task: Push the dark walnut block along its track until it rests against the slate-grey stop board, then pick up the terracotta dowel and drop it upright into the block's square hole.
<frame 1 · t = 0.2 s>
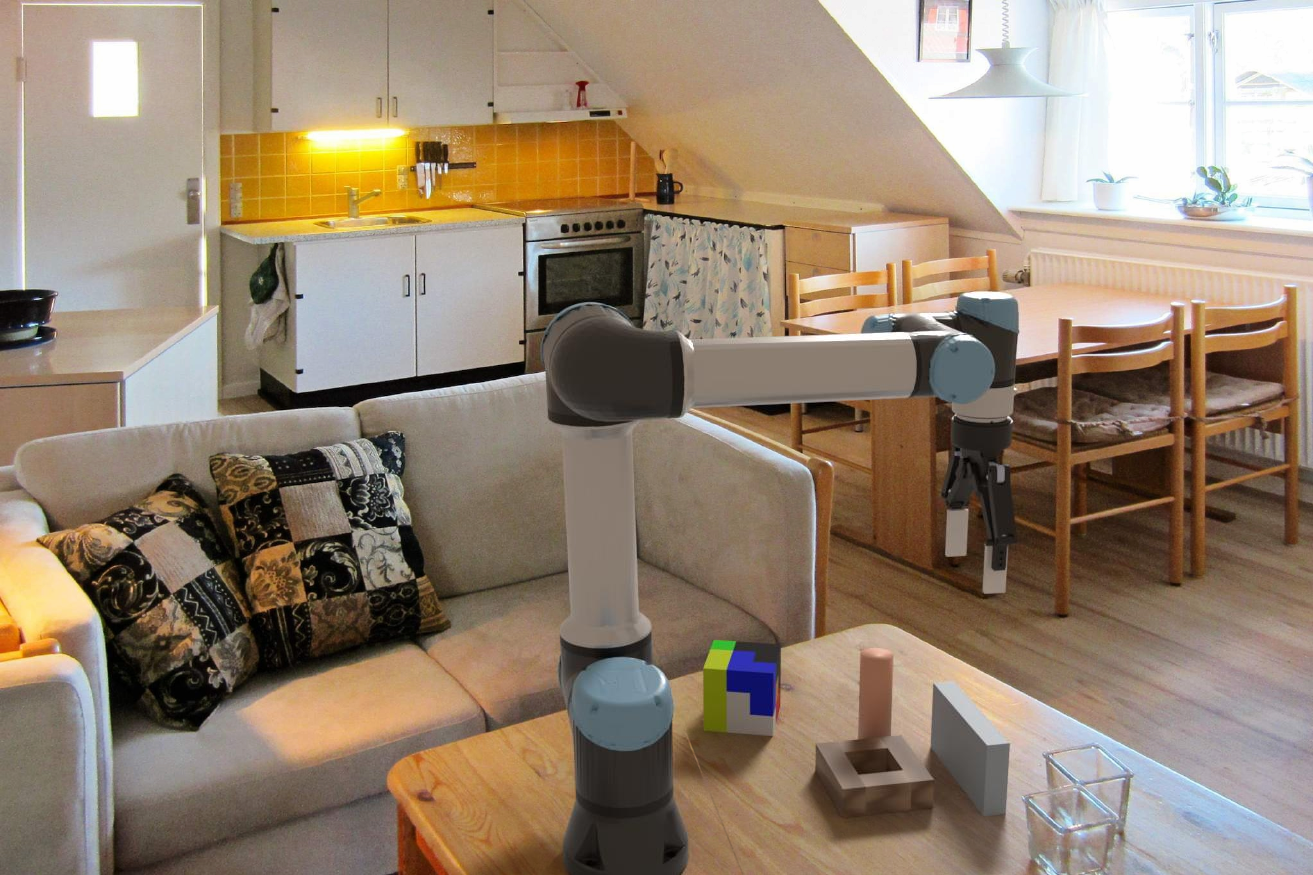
hand: (974, 573, 168), 28 cm above the table, tool pointing down, fingers open, 13 cm apart
stop board: (966, 779, 171), on the table
puzzle toy: (742, 720, 189), on the table
dowel: (874, 746, 180), on the table
block: (872, 774, 168), point 2 cm above the table, slide at 0.0 cm
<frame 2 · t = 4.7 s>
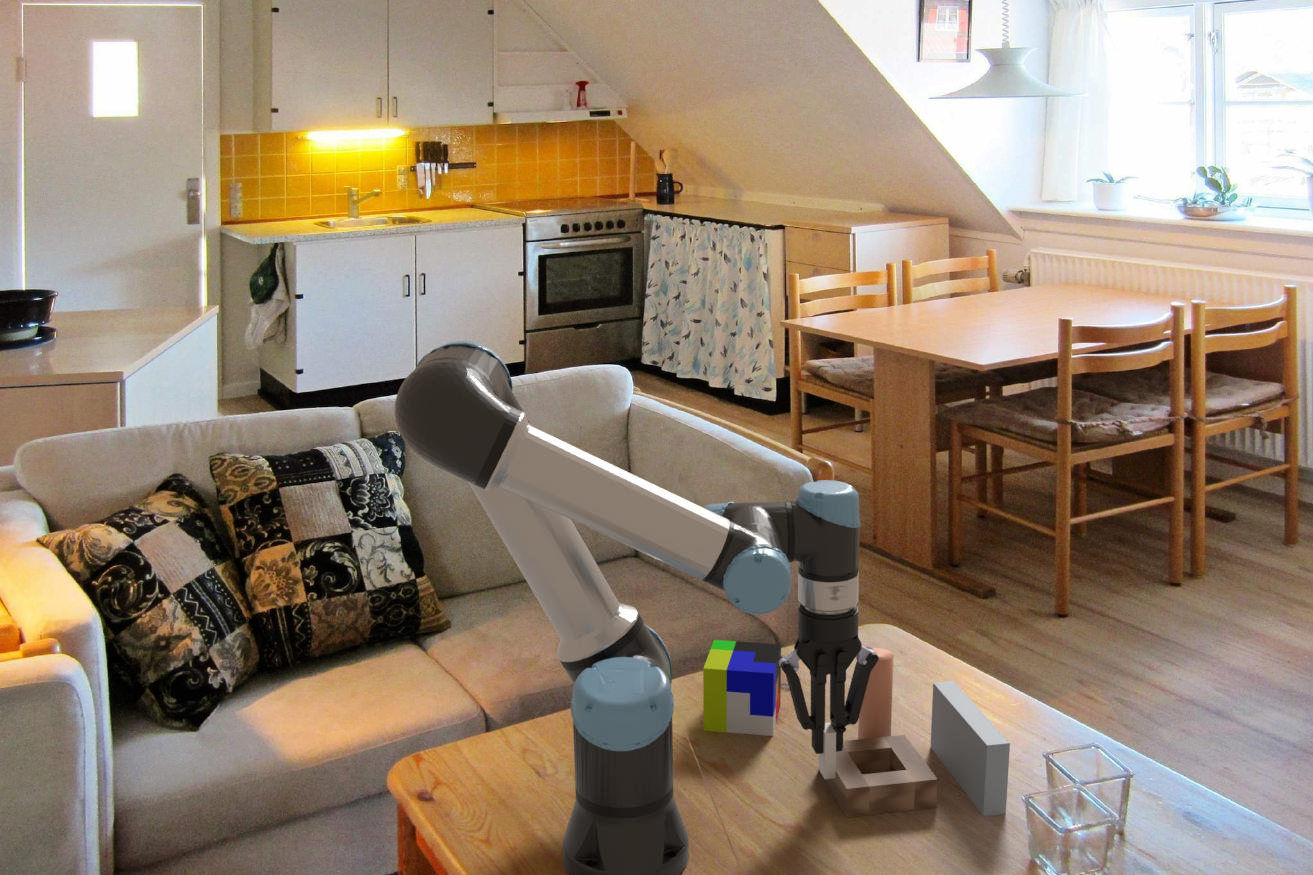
hand: (827, 773, 167), 3 cm above the table, tool pointing down, fingers closed
block: (876, 774, 169), point 2 cm above the table, slide at 0.5 cm, touching gripper
everything else where it was.
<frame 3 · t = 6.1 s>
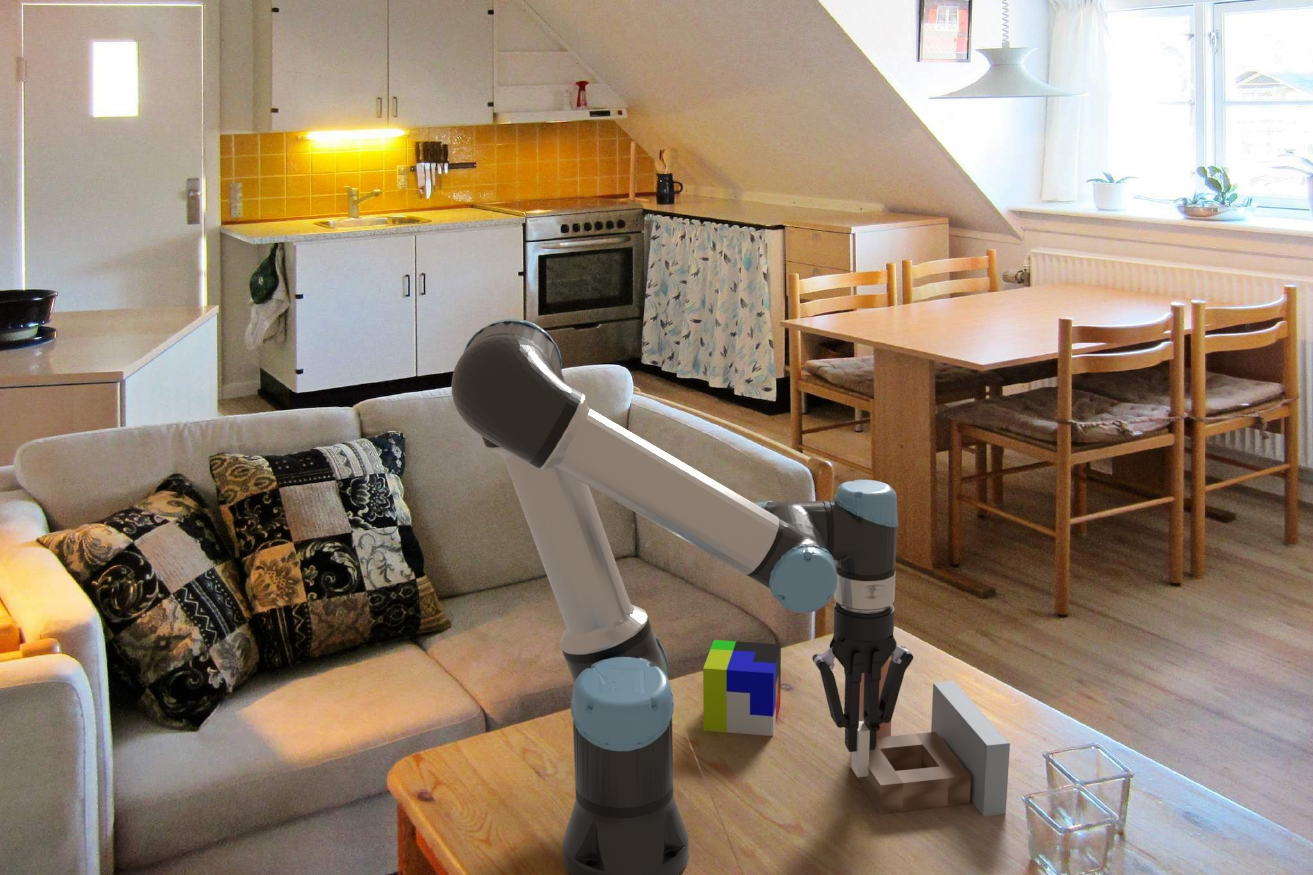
hand: (859, 771, 168), 3 cm above the table, tool pointing down, fingers closed
block: (908, 771, 169), point 2 cm above the table, slide at 4.9 cm, touching gripper
everything else where it was.
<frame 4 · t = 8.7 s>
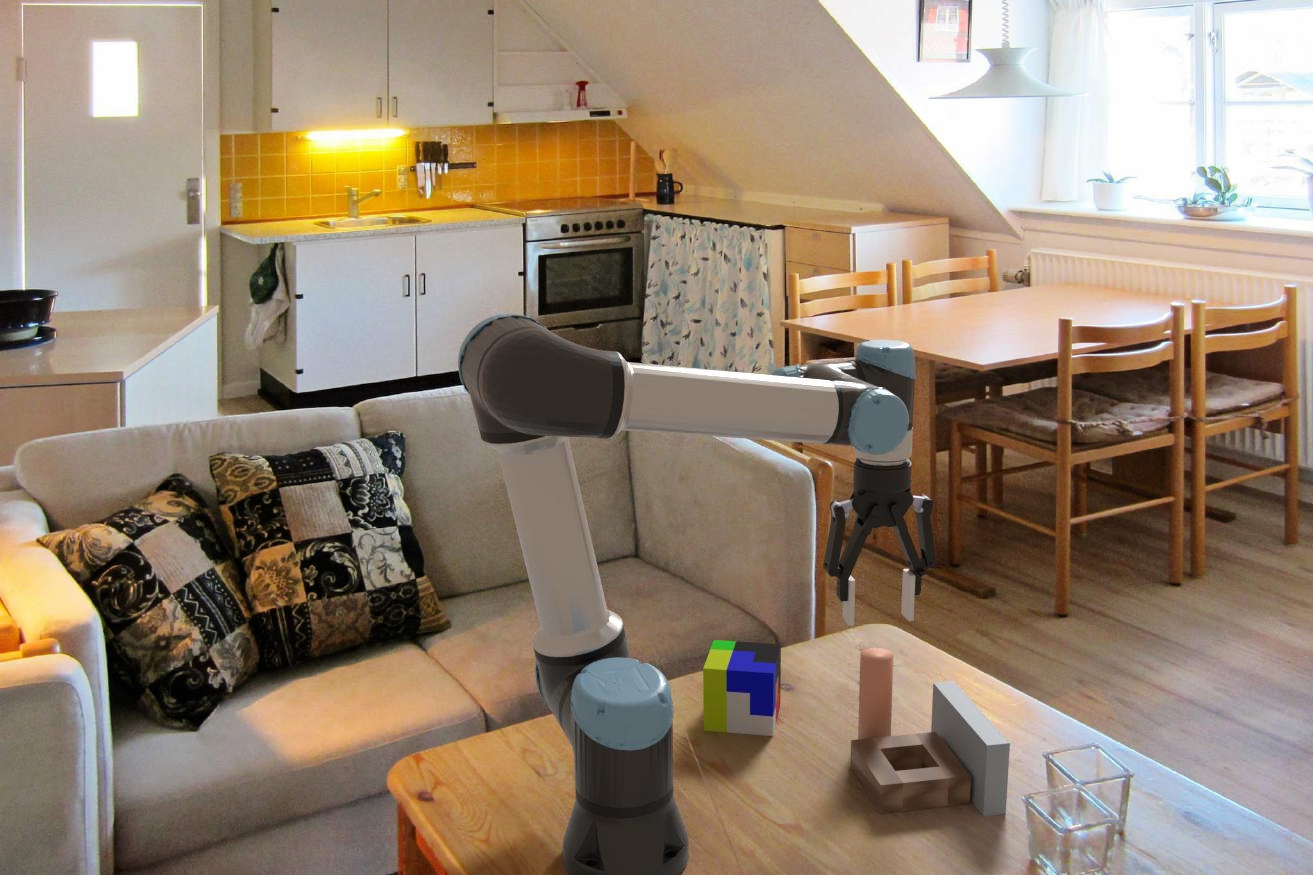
hand: (878, 619, 175), 19 cm above the table, tool pointing down, fingers open, 8 cm apart
block: (908, 771, 169), point 2 cm above the table, slide at 4.9 cm
everything else where it was.
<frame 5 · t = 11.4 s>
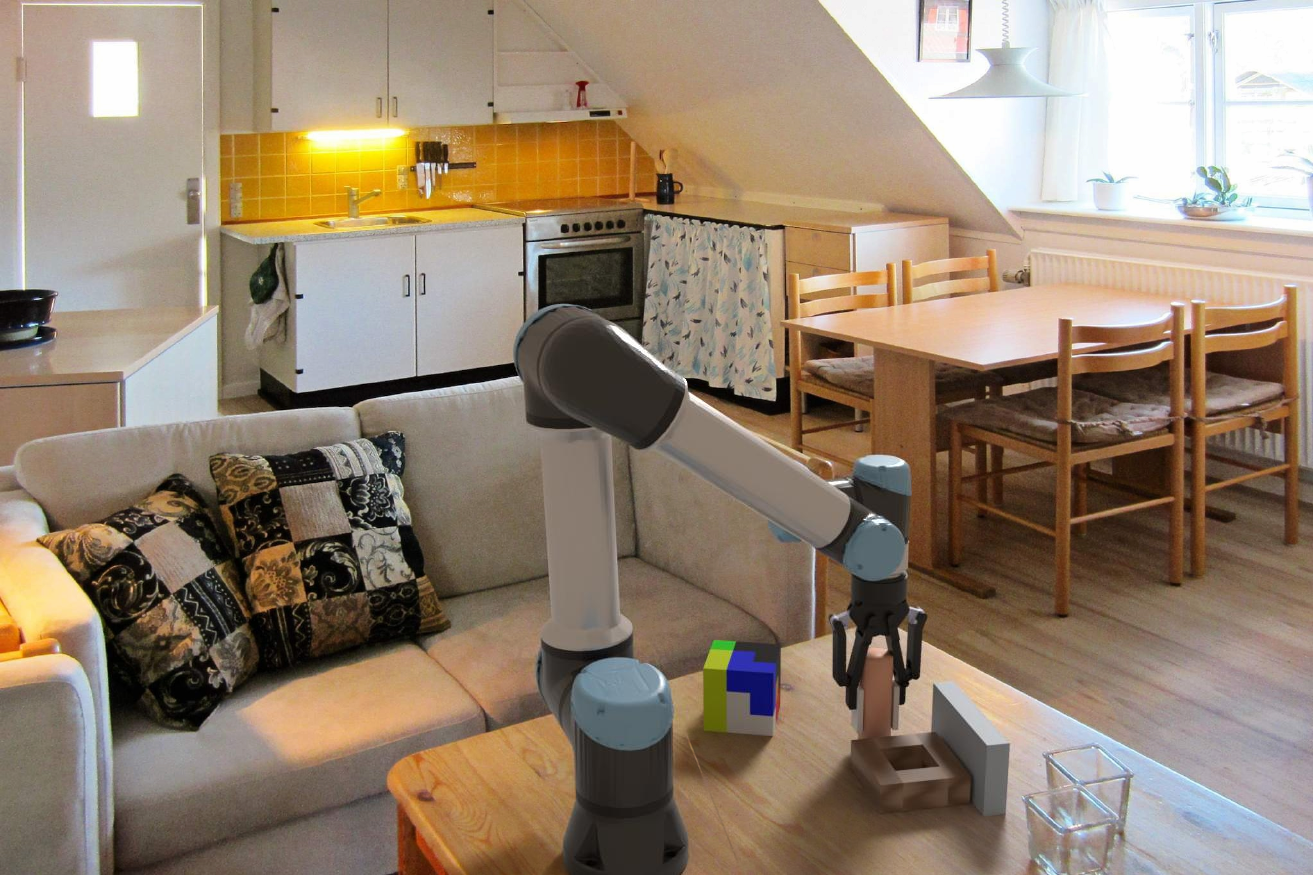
hand: (874, 726, 179), 3 cm above the table, tool pointing down, fingers closed on dowel, 4 cm apart
dowel: (874, 746, 180), on the table, touching gripper
everything else where it was.
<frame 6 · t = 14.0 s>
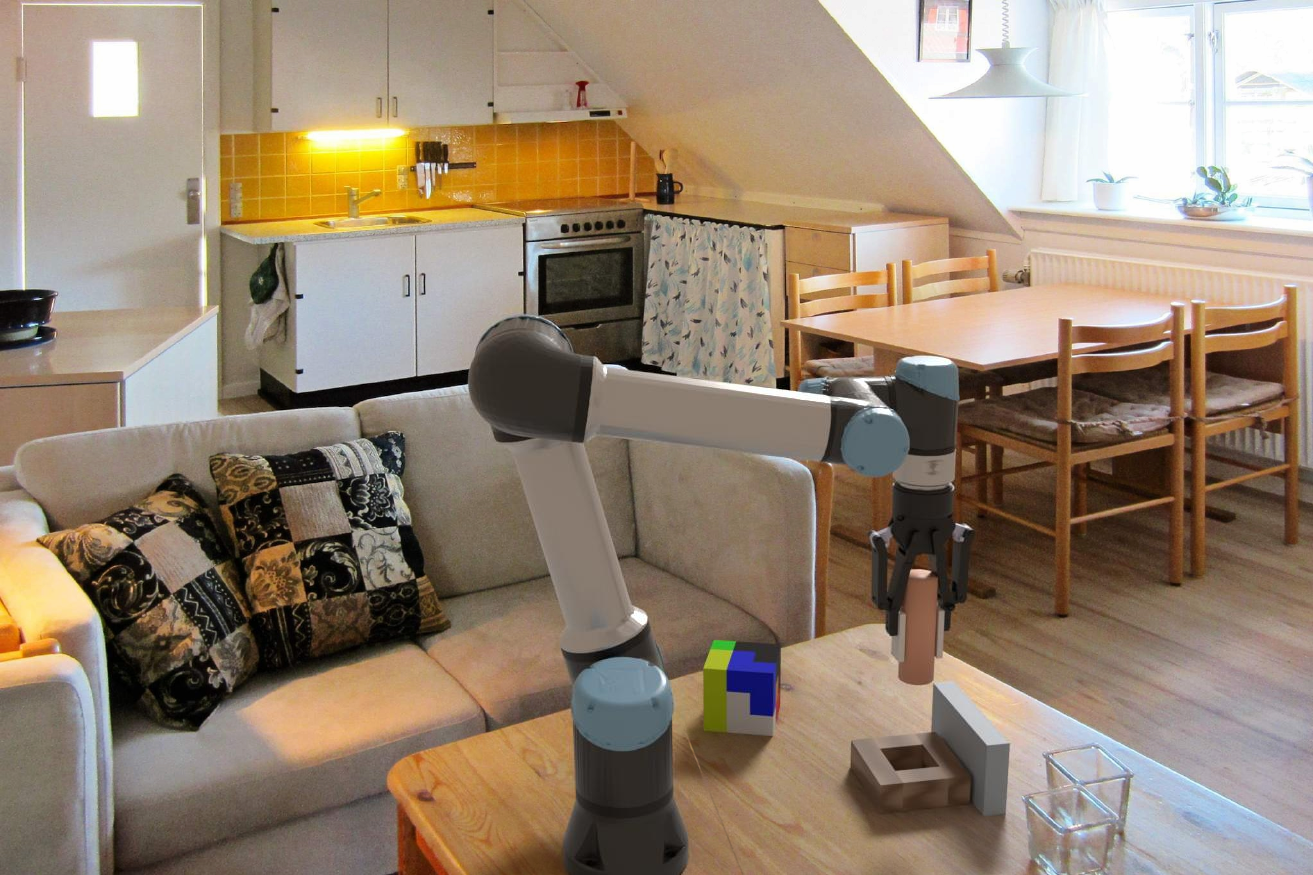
hand: (916, 655, 165), 19 cm above the table, tool pointing down, fingers closed on dowel, 4 cm apart
dowel: (915, 677, 166), point 15 cm above the table, touching gripper
everything else where it was.
when the fingers open (5 cm above the table, at t = 16.6 s): dowel drops 2 cm, resting in block.
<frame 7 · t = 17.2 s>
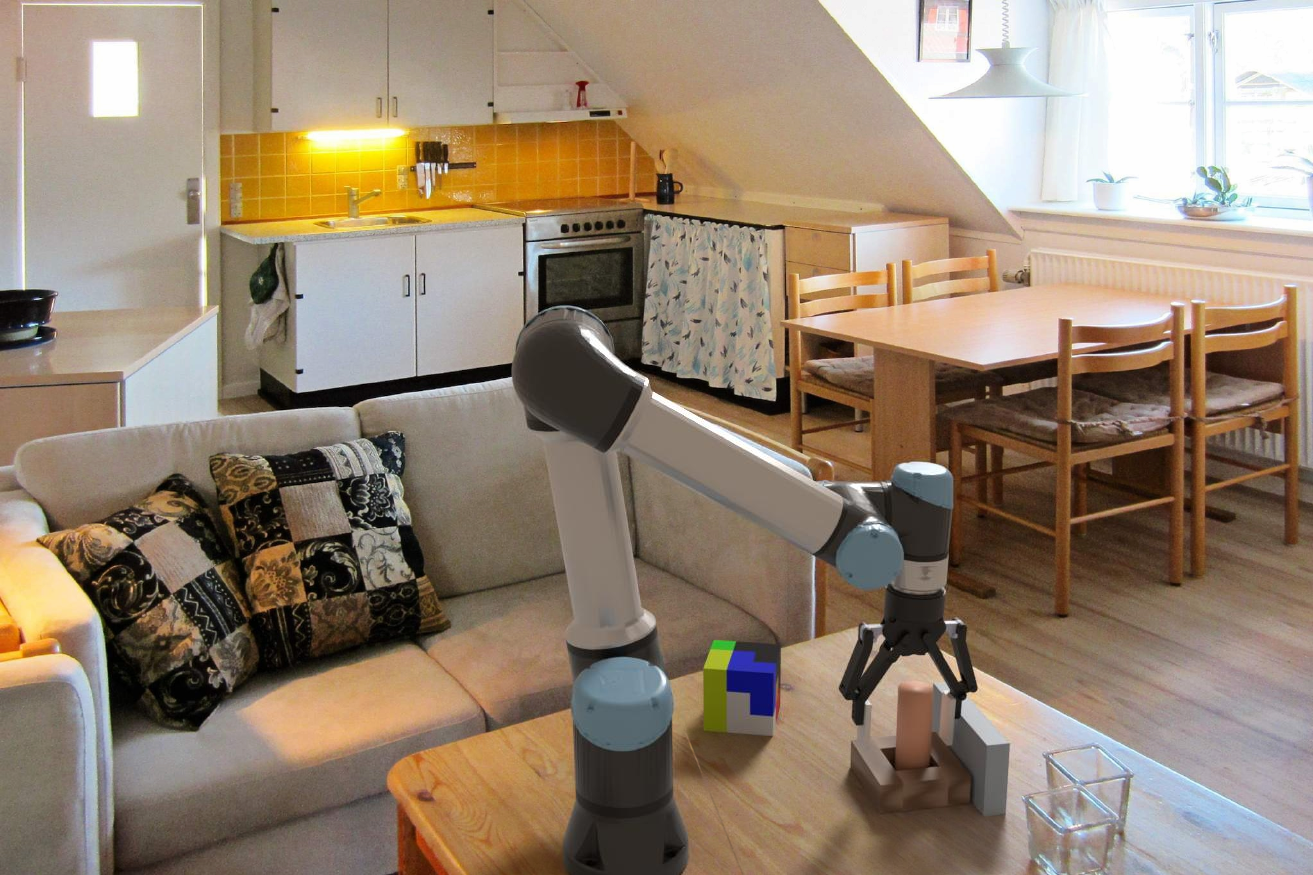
hand: (904, 743, 168), 6 cm above the table, tool pointing down, fingers open, 11 cm apart
dowel: (911, 785, 170), resting in block
everything else where it was.
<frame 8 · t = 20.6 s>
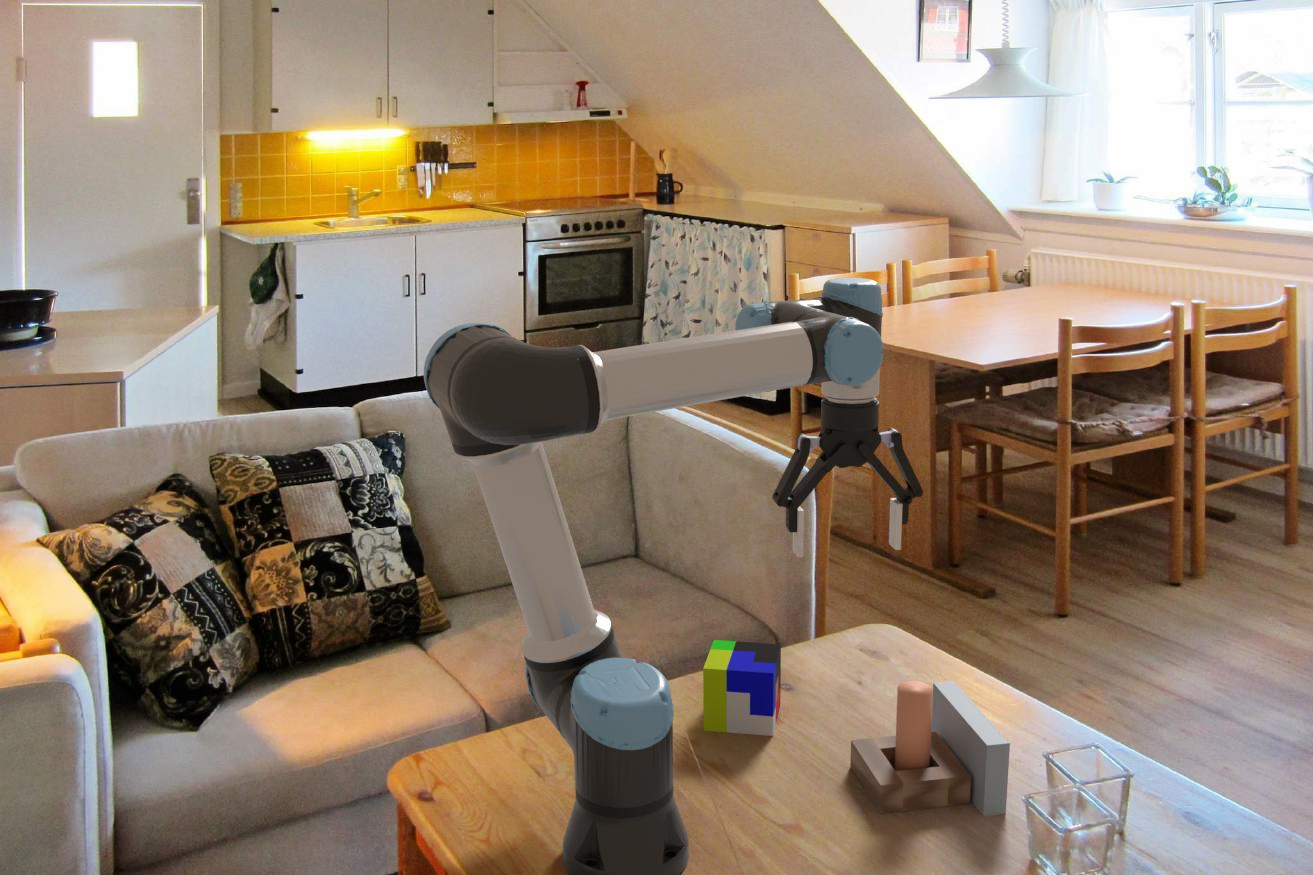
hand: (846, 550, 174), 29 cm above the table, tool pointing down, fingers open, 13 cm apart
nothing on the table moved.
at the end: block slide at 4.9 cm; dowel 0.1 cm from the target spot, resting in block; dowel tilted 0° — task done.
